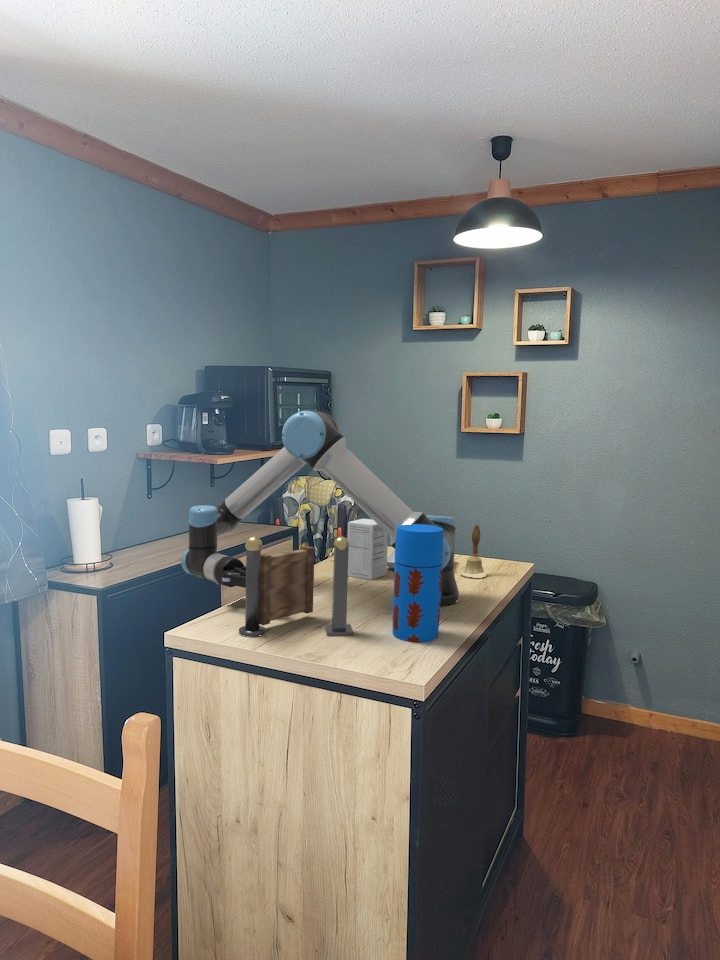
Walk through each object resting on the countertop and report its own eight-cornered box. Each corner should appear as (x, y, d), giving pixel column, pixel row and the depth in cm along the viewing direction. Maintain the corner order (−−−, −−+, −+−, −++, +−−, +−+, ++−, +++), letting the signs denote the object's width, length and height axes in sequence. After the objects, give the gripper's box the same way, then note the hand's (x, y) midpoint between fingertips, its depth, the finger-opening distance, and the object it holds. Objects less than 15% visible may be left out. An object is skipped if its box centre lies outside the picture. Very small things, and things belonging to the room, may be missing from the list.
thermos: (436, 644, 159) (441, 533, 156) (388, 640, 161) (392, 530, 158) (440, 629, 170) (445, 525, 167) (395, 625, 172) (400, 522, 169)
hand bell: (467, 571, 230) (470, 522, 229) (491, 575, 226) (494, 525, 224) (455, 575, 224) (457, 525, 222) (479, 580, 219) (482, 528, 217)
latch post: (327, 635, 162) (329, 539, 160) (324, 627, 168) (327, 534, 166) (353, 635, 163) (356, 539, 161) (350, 627, 169) (353, 534, 167)
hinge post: (269, 629, 165) (271, 535, 163) (260, 638, 159) (262, 539, 157) (244, 627, 166) (246, 533, 164) (234, 635, 161) (236, 538, 158)
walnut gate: (263, 625, 164) (264, 556, 162) (256, 623, 165) (257, 554, 163) (312, 611, 175) (314, 547, 174) (306, 609, 177) (307, 546, 175)
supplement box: (387, 574, 222) (389, 521, 220) (372, 580, 214) (374, 525, 212) (361, 570, 227) (363, 517, 225) (345, 575, 219) (347, 521, 217)
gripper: (244, 580, 193) (304, 598, 178) (204, 588, 184) (264, 608, 168) (244, 552, 193) (305, 568, 177) (204, 559, 183) (264, 577, 167)
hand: (285, 588), depth 172 cm, fingers closed
